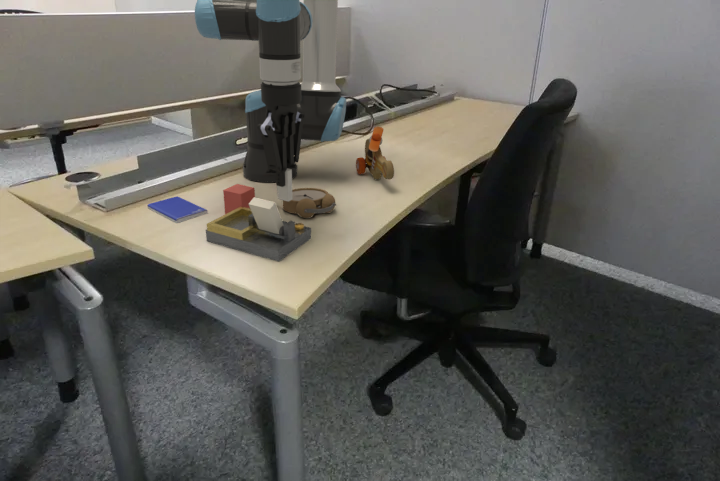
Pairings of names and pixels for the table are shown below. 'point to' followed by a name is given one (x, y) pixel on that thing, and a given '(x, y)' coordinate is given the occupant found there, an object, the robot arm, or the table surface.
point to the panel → (255, 235)
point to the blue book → (177, 209)
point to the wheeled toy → (375, 158)
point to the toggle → (267, 216)
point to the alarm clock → (309, 202)
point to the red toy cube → (238, 197)
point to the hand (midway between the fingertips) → (285, 199)
